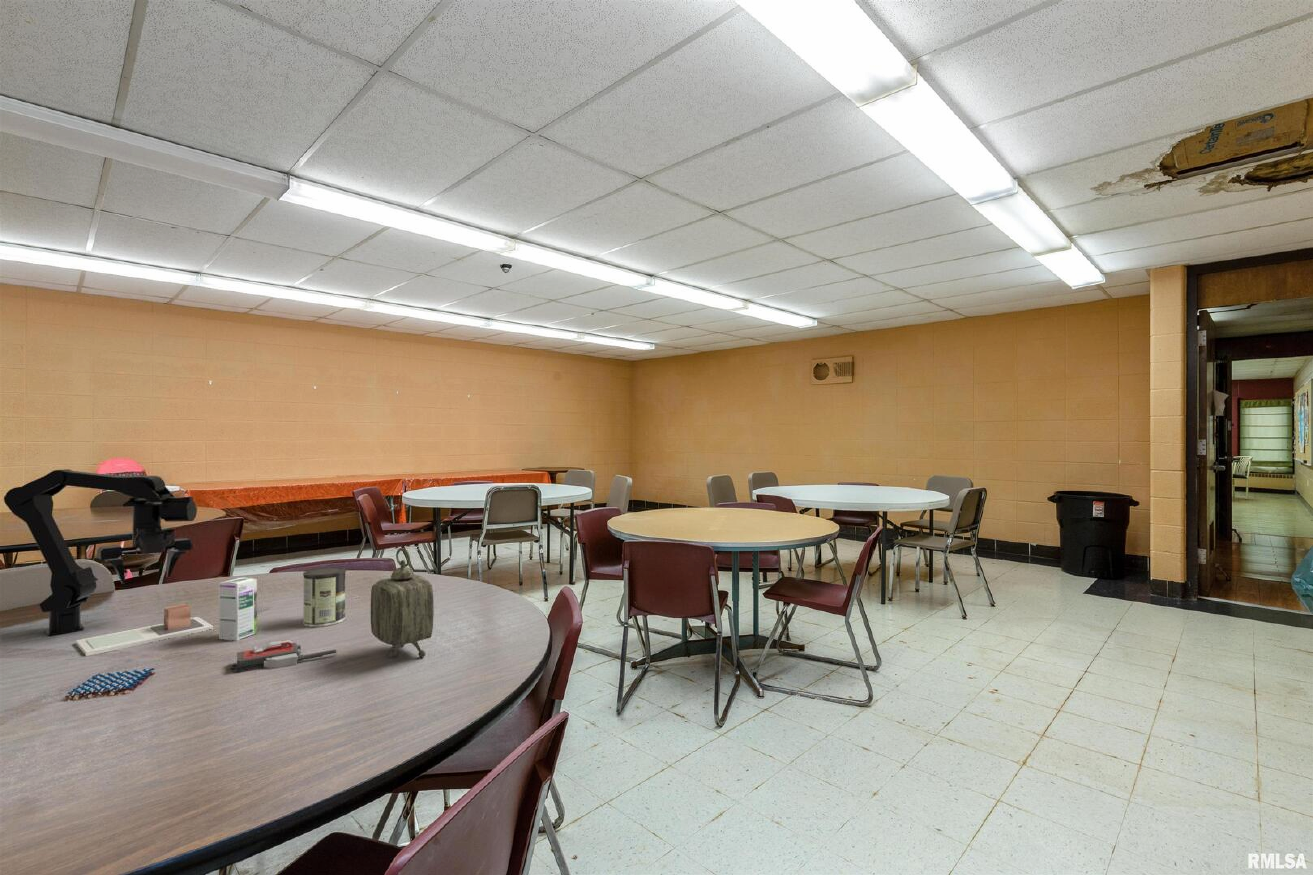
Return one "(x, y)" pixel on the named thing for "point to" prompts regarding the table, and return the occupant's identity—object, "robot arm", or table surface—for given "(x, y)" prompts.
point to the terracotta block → (177, 616)
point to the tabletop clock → (402, 608)
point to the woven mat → (110, 684)
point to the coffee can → (324, 596)
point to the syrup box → (237, 608)
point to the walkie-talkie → (273, 656)
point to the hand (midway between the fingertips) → (146, 580)
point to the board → (138, 637)
